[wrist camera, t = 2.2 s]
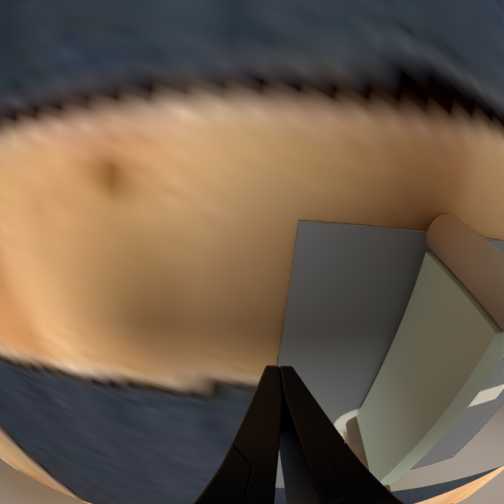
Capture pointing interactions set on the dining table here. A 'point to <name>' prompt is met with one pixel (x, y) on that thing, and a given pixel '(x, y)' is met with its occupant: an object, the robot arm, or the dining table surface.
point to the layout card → (361, 321)
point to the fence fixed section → (356, 441)
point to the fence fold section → (436, 350)
